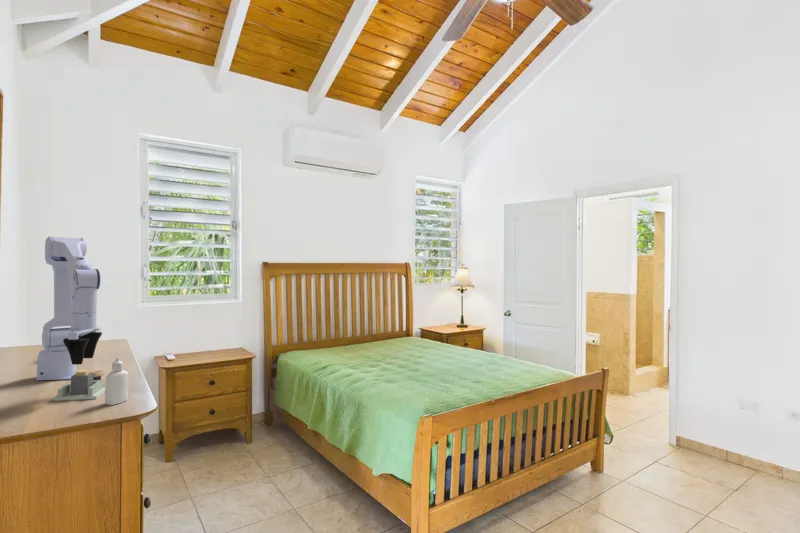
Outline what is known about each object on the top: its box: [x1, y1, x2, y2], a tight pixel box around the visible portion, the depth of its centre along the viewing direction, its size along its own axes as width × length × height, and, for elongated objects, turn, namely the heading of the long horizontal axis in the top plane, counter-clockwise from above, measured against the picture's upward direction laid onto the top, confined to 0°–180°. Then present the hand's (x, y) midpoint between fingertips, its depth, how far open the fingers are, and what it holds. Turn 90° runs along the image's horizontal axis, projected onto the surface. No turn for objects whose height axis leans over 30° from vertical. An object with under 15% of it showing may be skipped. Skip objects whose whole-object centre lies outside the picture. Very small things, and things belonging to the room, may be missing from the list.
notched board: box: [52, 379, 105, 402], centre depth 126 cm, size 10×8×3 cm
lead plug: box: [70, 369, 93, 395], centre depth 126 cm, size 4×4×6 cm
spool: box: [89, 370, 105, 387], centre depth 135 cm, size 5×5×4 cm
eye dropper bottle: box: [104, 356, 129, 406], centre depth 121 cm, size 4×6×12 cm
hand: (82, 361), depth 126 cm, fingers open, 7 cm apart
